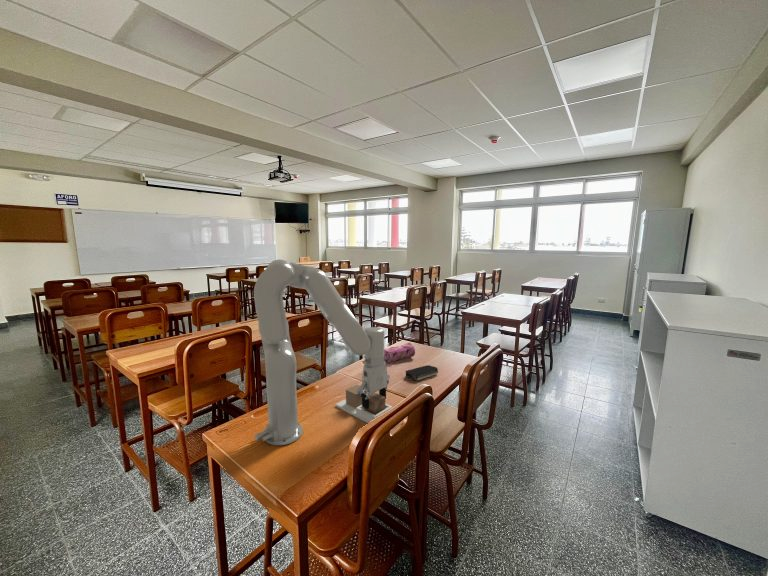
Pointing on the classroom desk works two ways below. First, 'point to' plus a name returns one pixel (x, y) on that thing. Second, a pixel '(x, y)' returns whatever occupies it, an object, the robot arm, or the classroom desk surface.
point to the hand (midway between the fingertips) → (374, 402)
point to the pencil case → (399, 352)
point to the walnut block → (376, 403)
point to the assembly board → (361, 411)
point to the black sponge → (421, 372)
